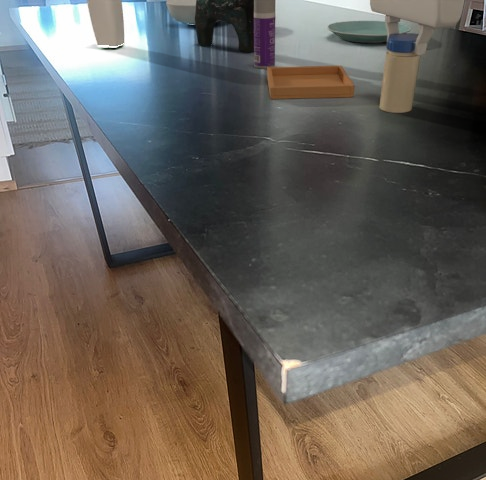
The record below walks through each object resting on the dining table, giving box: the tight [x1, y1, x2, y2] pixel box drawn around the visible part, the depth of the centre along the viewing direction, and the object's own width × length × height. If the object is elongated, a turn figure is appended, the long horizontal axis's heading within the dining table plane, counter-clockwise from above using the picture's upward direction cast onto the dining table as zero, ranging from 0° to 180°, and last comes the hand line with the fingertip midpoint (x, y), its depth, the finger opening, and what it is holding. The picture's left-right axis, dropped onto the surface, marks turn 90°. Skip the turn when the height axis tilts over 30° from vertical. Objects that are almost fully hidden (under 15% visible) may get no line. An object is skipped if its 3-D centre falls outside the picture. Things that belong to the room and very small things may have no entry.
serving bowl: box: [165, 0, 222, 24], centre depth 165 cm, size 21×21×7 cm
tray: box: [266, 65, 355, 100], centre depth 104 cm, size 16×16×2 cm
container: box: [253, 0, 276, 70], centre depth 115 cm, size 5×5×15 cm
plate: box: [326, 20, 412, 44], centre depth 142 cm, size 22×22×3 cm
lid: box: [386, 32, 419, 53], centre depth 86 cm, size 6×6×2 cm
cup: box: [86, 0, 125, 46], centre depth 136 cm, size 7×7×15 cm
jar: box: [378, 50, 422, 114], centre depth 90 cm, size 6×6×10 cm
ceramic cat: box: [194, 0, 254, 54], centre depth 130 cm, size 20×6×20 cm, turn 51°
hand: (405, 49), depth 87 cm, fingers closed on lid, 6 cm apart
